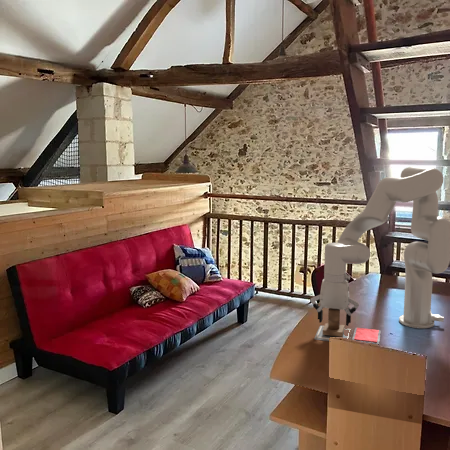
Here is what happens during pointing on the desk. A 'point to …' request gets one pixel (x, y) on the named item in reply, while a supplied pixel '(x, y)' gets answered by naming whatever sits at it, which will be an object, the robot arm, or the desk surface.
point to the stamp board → (321, 336)
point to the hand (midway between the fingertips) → (334, 322)
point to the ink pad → (367, 335)
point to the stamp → (333, 324)
